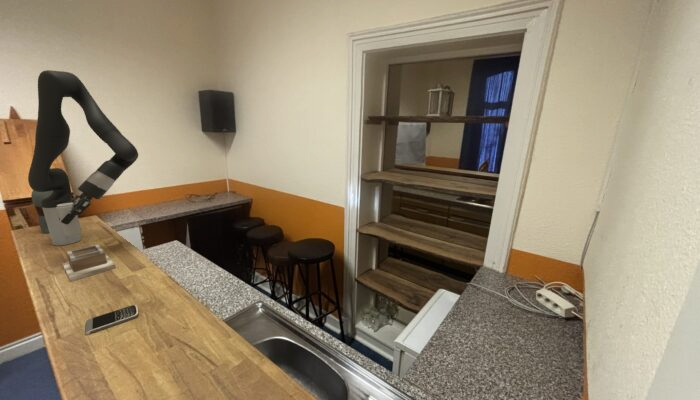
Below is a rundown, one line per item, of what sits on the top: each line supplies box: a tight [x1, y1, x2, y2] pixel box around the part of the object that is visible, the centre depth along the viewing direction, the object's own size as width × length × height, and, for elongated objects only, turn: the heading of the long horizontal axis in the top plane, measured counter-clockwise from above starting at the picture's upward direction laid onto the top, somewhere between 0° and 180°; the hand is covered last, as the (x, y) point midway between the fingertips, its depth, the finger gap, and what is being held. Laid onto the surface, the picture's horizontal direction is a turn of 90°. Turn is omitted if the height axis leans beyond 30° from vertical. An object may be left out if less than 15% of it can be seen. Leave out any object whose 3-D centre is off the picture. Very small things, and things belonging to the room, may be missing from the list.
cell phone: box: [84, 304, 139, 336], centre depth 74 cm, size 6×11×1 cm, turn 131°
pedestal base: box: [62, 243, 116, 282], centre depth 102 cm, size 16×12×7 cm
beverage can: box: [57, 203, 83, 236], centre depth 105 cm, size 5×5×12 cm
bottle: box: [30, 189, 53, 234], centre depth 136 cm, size 9×9×30 cm
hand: (62, 221), depth 103 cm, fingers closed on beverage can, 4 cm apart
